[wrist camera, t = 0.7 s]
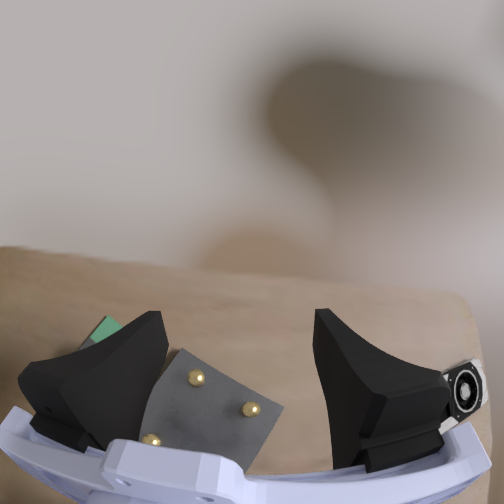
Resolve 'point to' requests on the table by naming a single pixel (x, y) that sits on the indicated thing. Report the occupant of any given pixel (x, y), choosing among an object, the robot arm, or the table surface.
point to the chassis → (207, 412)
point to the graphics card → (463, 393)
